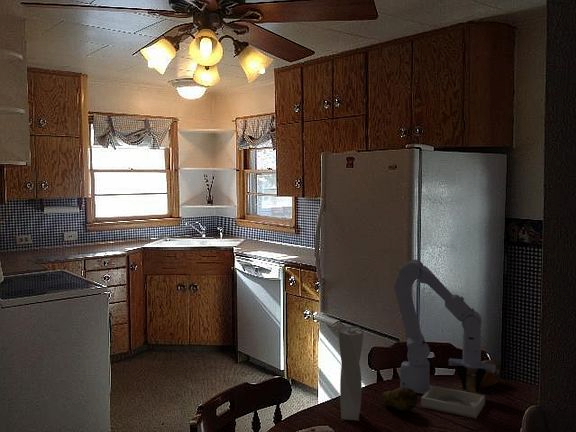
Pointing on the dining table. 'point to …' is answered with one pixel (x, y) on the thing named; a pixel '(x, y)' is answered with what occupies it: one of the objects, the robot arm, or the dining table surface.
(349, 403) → the tall white vase
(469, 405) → the box
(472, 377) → the peg
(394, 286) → the robot arm
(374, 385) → the dining table surface
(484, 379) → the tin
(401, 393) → the potato
